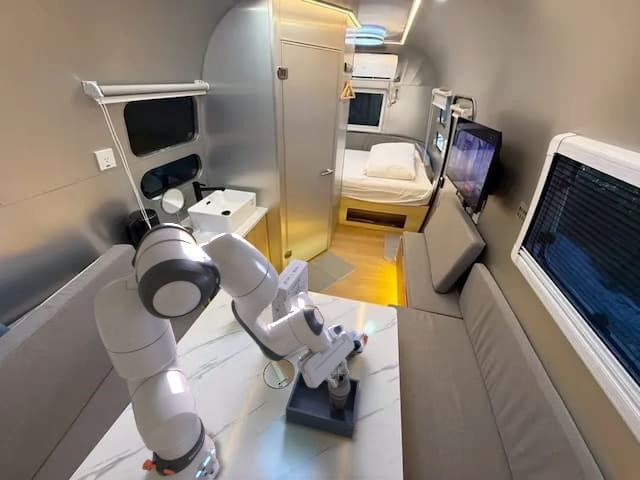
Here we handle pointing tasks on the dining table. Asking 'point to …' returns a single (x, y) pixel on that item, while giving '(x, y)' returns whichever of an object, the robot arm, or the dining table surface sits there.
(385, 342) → the dining table surface
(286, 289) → the cereal box
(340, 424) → the blue open storage box
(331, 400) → the beverage cup
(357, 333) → the lucky cat figurine
